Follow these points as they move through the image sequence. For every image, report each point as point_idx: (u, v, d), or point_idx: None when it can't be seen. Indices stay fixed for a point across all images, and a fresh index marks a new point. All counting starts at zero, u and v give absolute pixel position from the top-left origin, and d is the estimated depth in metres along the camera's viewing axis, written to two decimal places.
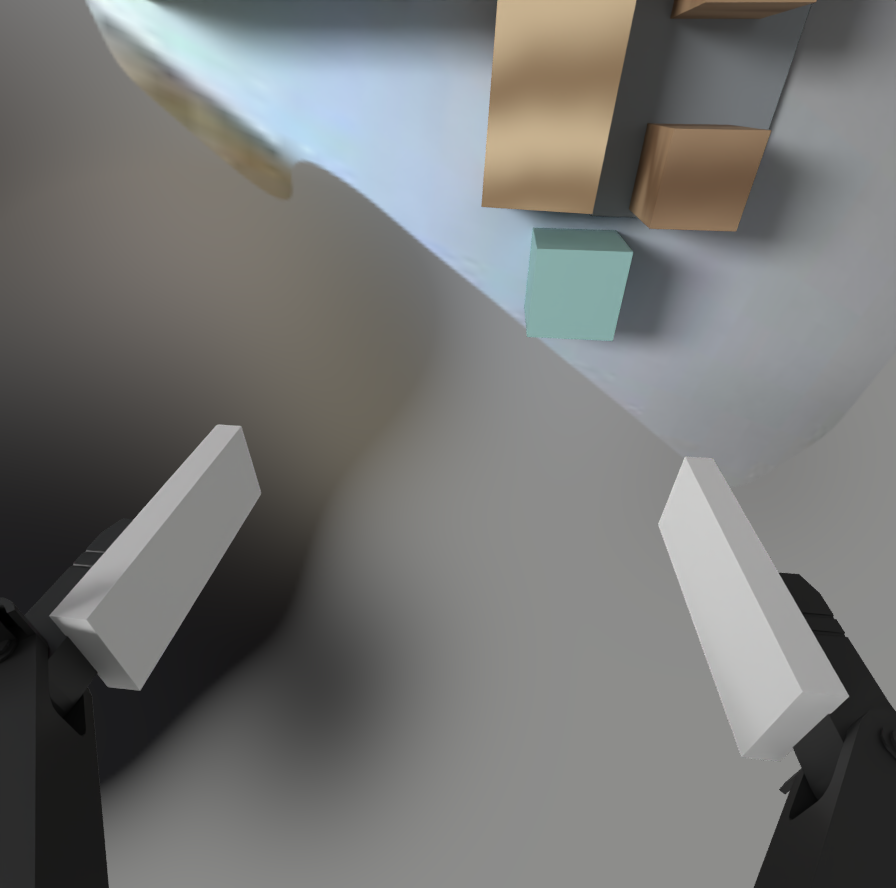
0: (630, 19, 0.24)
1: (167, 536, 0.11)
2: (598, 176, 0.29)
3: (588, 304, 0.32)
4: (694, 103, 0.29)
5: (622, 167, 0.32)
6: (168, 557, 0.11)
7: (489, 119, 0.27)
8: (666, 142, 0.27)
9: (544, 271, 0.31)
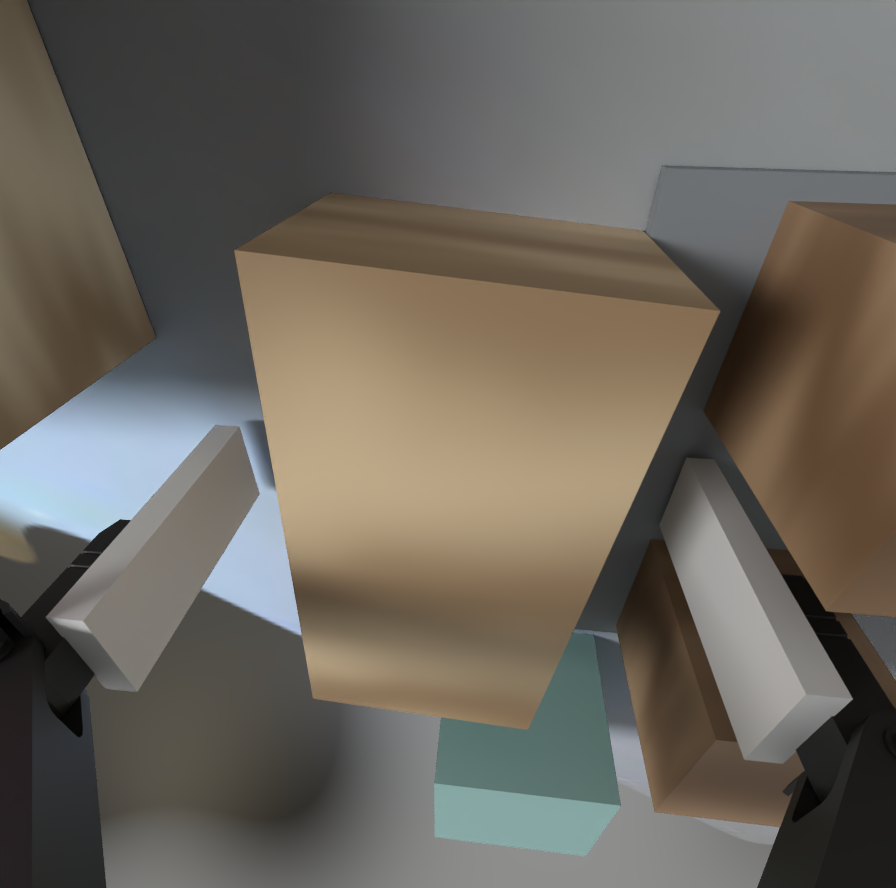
0: (610, 538, 0.10)
1: (165, 537, 0.11)
2: (538, 699, 0.14)
3: (539, 830, 0.17)
4: None
5: (603, 582, 0.17)
6: (166, 558, 0.11)
7: (301, 618, 0.13)
8: (693, 712, 0.12)
9: (453, 800, 0.16)
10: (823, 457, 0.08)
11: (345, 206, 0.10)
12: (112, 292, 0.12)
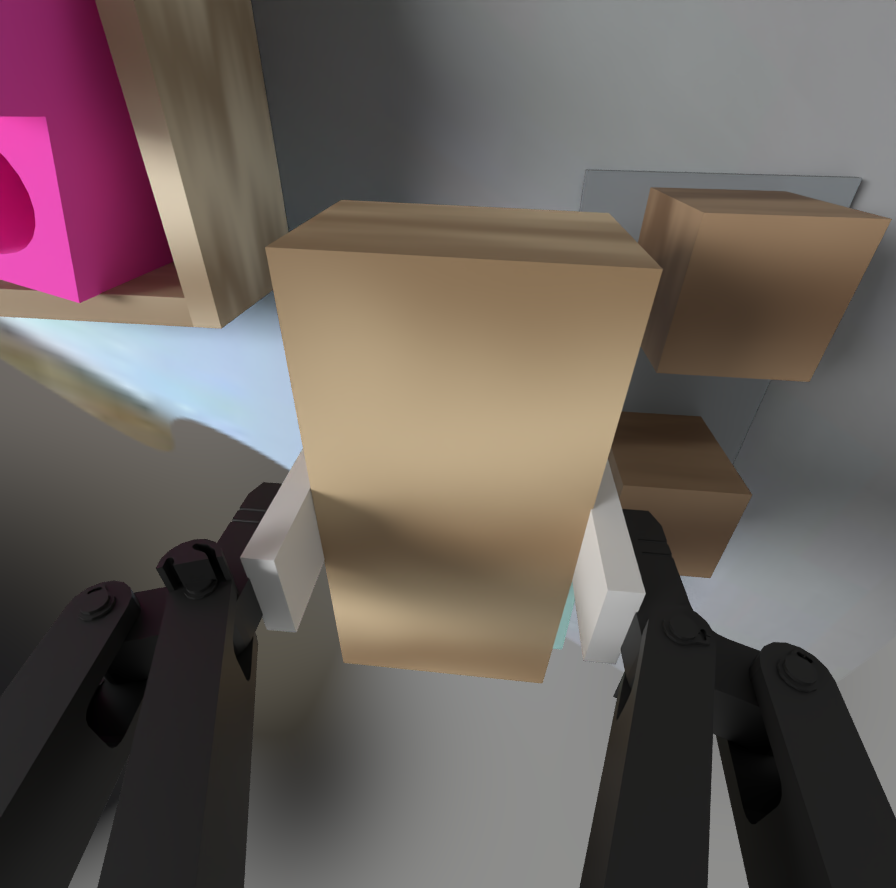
0: (596, 482, 0.11)
1: None
2: (548, 650, 0.15)
3: None
4: (657, 394, 0.23)
5: None
6: (313, 515, 0.12)
7: (330, 580, 0.14)
8: (615, 484, 0.20)
9: None
10: (657, 304, 0.17)
11: (351, 211, 0.11)
12: None
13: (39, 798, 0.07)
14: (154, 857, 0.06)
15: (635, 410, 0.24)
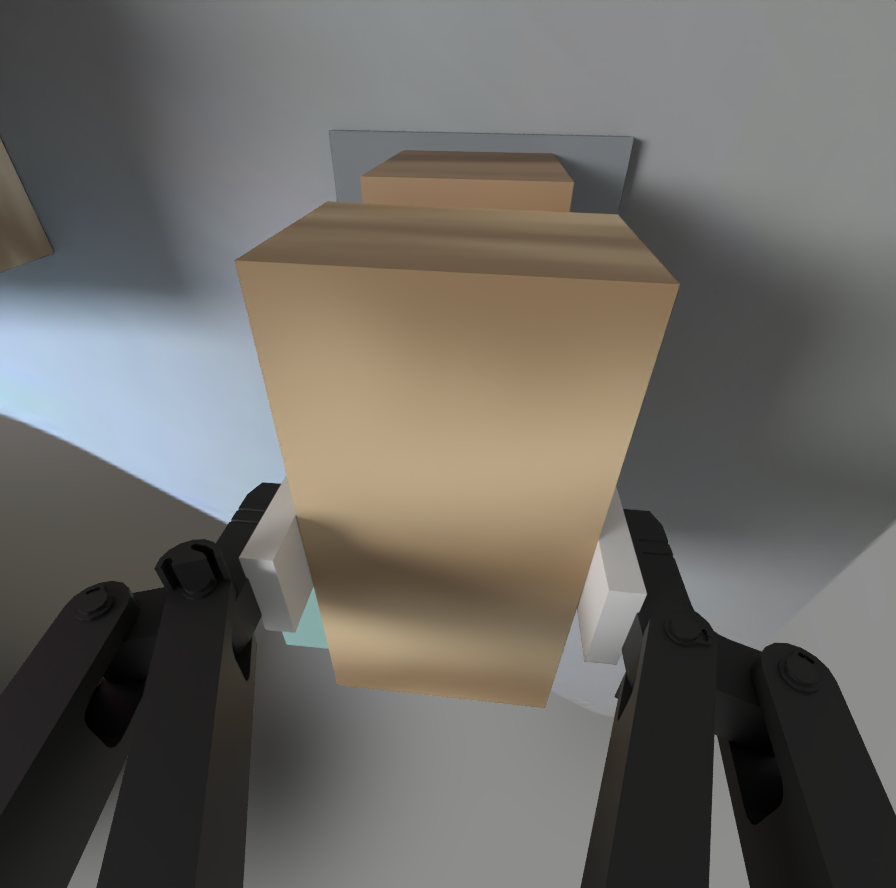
0: (603, 510, 0.10)
1: None
2: (551, 676, 0.14)
3: None
4: None
5: None
6: None
7: (320, 604, 0.13)
8: None
9: None
10: None
11: (336, 215, 0.10)
12: (16, 216, 0.18)
13: (38, 798, 0.07)
14: (153, 858, 0.06)
15: None
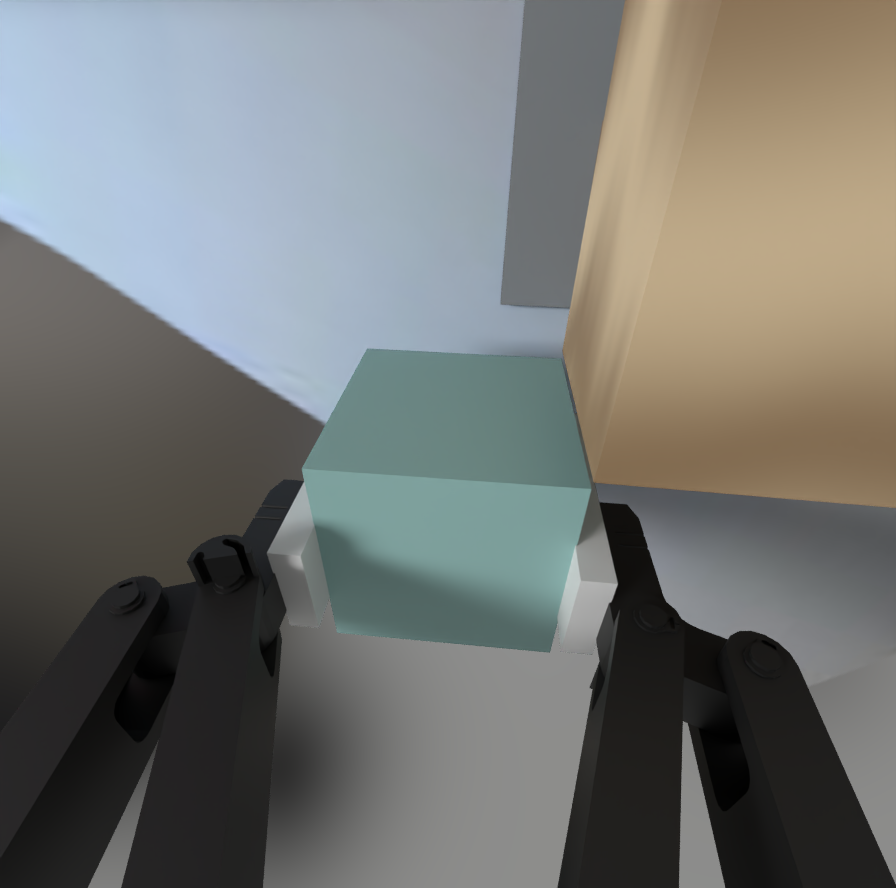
0: None
1: None
2: None
3: (477, 588, 0.12)
4: None
5: (554, 213, 0.15)
6: None
7: (694, 126, 0.05)
8: None
9: (340, 518, 0.11)
10: None
11: None
12: None
13: (67, 791, 0.07)
14: (179, 851, 0.06)
15: None
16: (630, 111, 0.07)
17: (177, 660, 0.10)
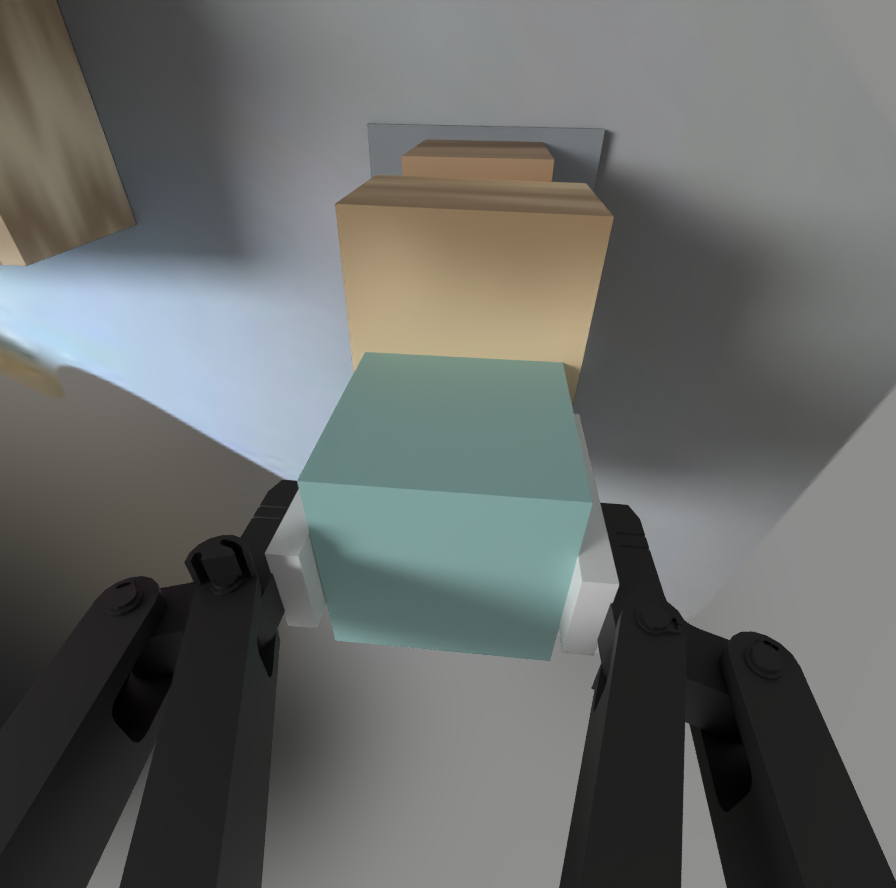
0: (573, 386, 0.15)
1: None
2: None
3: (476, 599, 0.12)
4: None
5: None
6: None
7: None
8: None
9: (337, 530, 0.11)
10: None
11: (387, 182, 0.15)
12: (112, 193, 0.22)
13: (65, 791, 0.07)
14: (177, 851, 0.06)
15: None
16: None
17: (175, 660, 0.10)
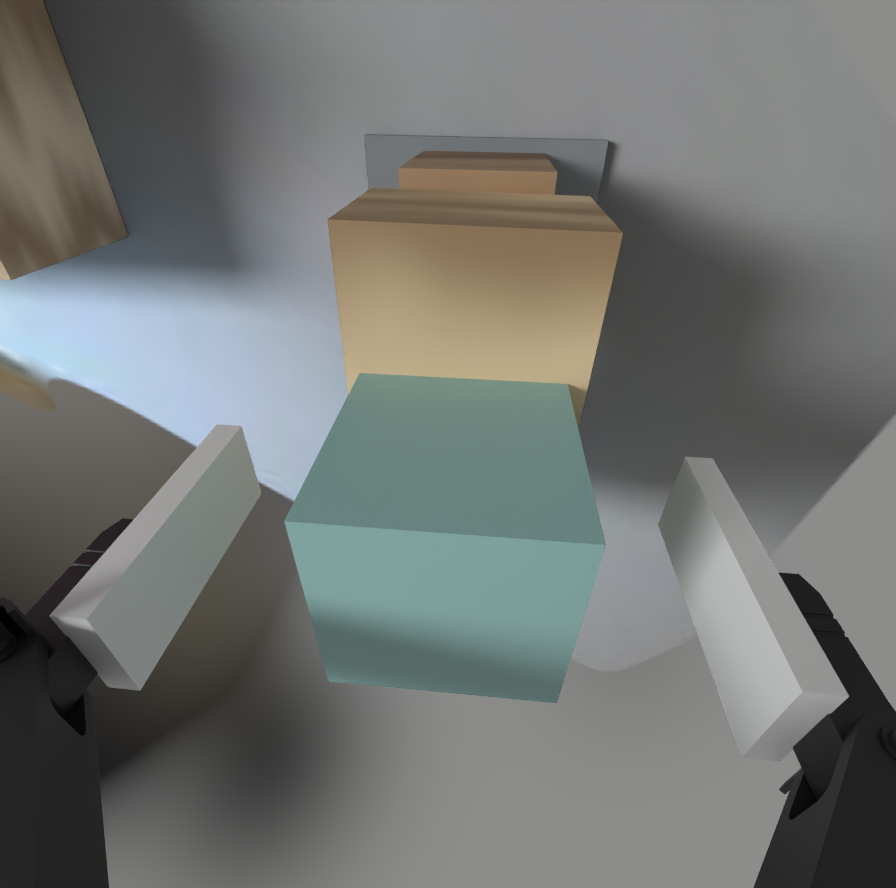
0: (579, 408, 0.14)
1: (167, 536, 0.11)
2: None
3: (479, 641, 0.11)
4: None
5: None
6: (168, 557, 0.11)
7: None
8: None
9: (328, 571, 0.10)
10: None
11: (383, 195, 0.14)
12: (103, 204, 0.22)
13: None
14: None
15: None
16: None
17: None
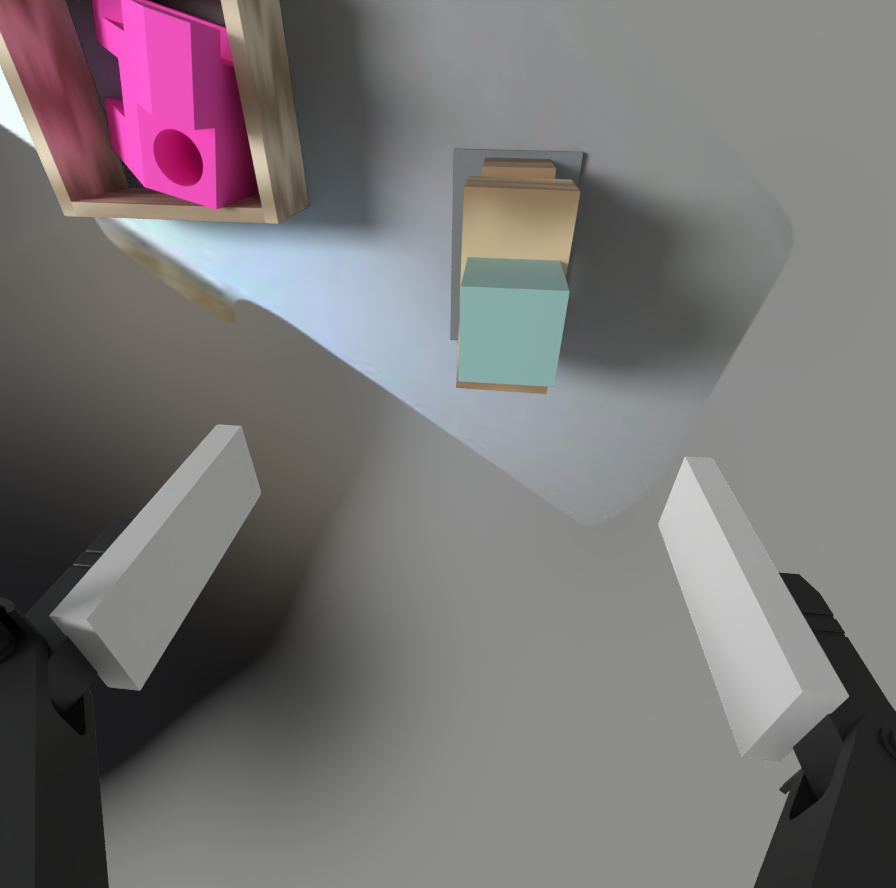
0: (565, 273, 0.31)
1: (167, 536, 0.11)
2: None
3: (524, 348, 0.28)
4: None
5: None
6: (168, 557, 0.11)
7: None
8: None
9: (471, 311, 0.27)
10: None
11: (477, 178, 0.32)
12: (302, 187, 0.39)
13: None
14: None
15: None
16: None
17: None
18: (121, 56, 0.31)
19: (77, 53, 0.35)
